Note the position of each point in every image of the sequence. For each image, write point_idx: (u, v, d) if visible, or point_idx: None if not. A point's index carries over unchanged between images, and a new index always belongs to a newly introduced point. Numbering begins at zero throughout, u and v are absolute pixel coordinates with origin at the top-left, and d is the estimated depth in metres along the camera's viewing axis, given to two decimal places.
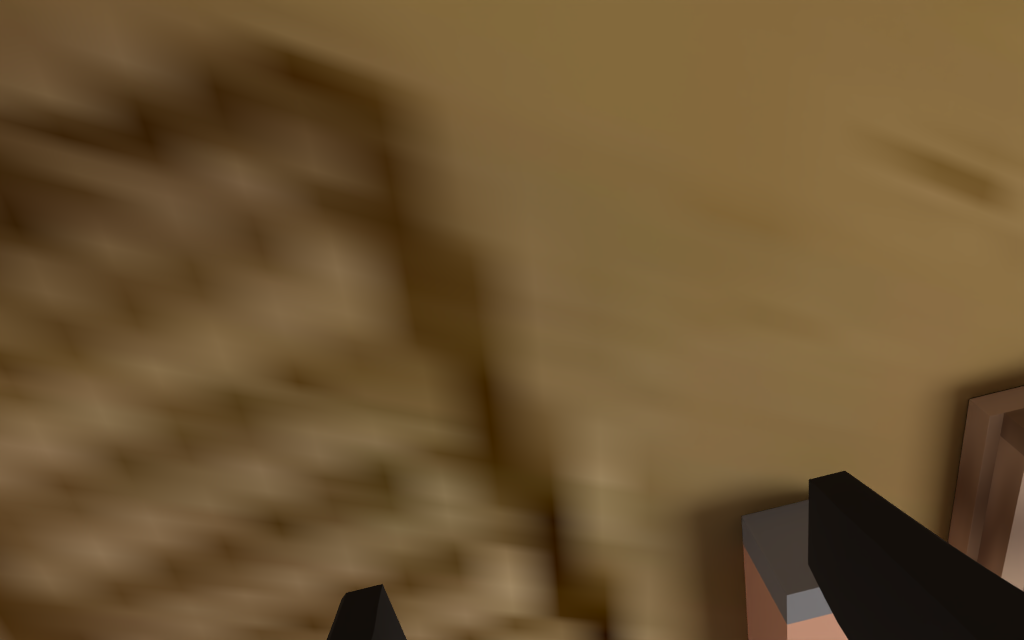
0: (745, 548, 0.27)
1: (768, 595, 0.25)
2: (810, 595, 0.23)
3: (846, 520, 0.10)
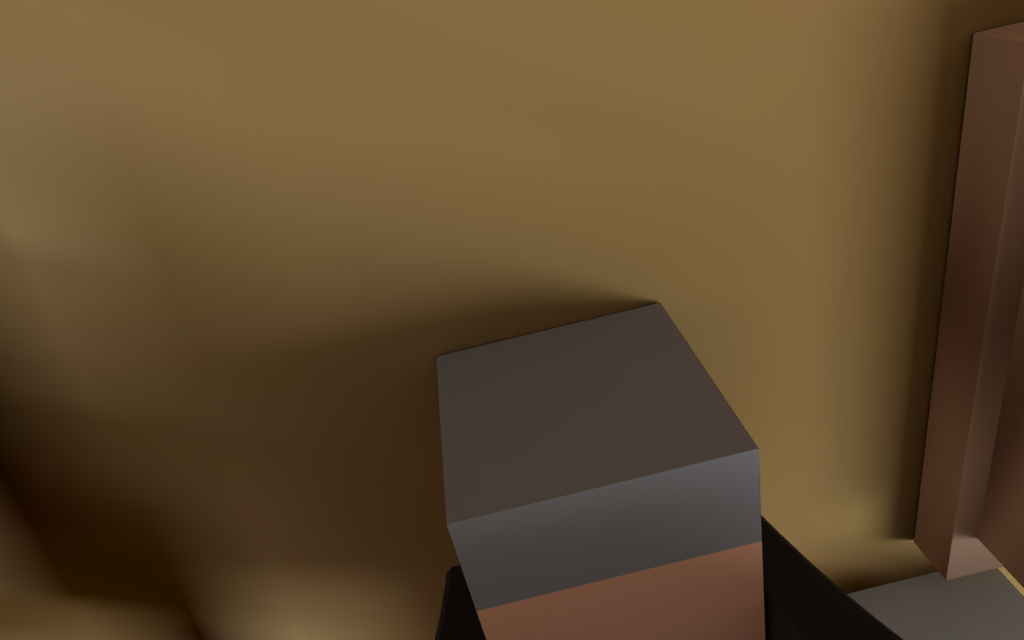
0: None
1: None
2: (521, 526, 0.08)
3: None
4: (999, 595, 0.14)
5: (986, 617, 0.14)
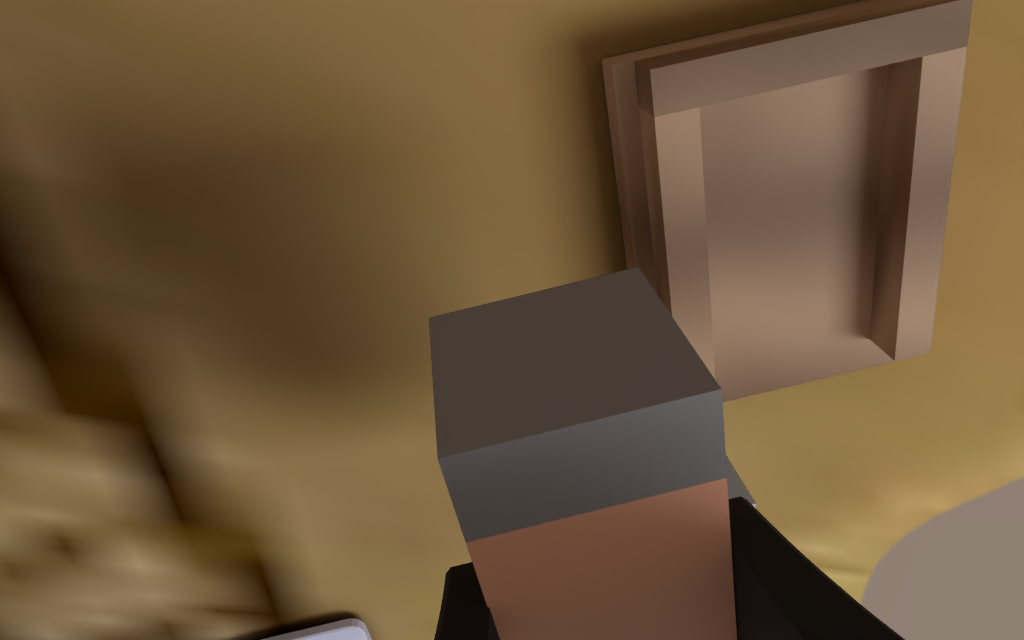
0: None
1: None
2: (505, 461, 0.09)
3: (732, 548, 0.10)
4: None
5: None
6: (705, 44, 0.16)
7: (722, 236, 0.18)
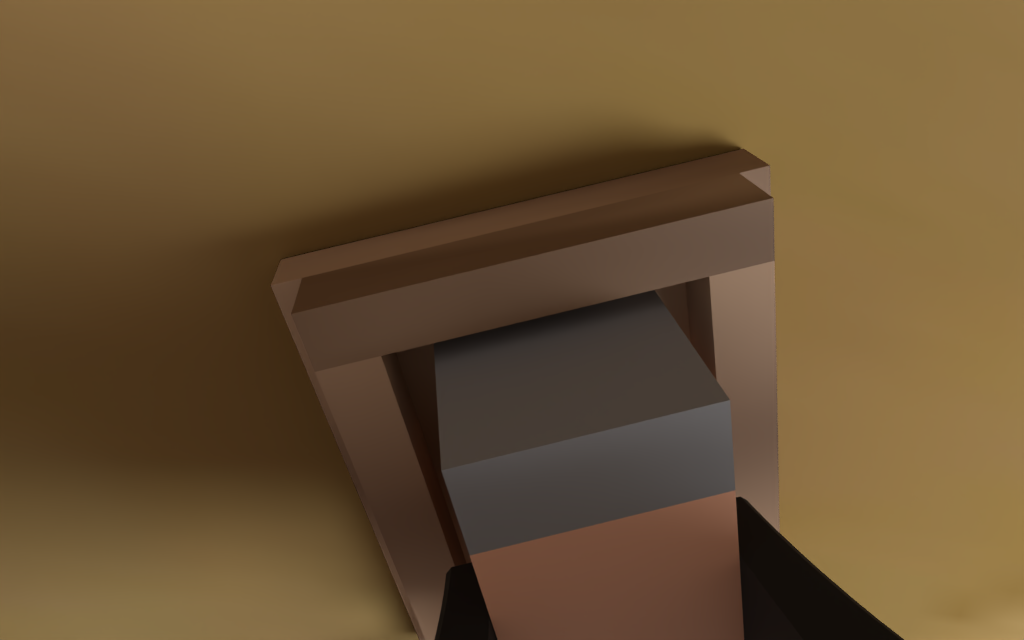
0: None
1: None
2: (510, 473, 0.09)
3: None
4: None
5: None
6: (407, 250, 0.11)
7: None
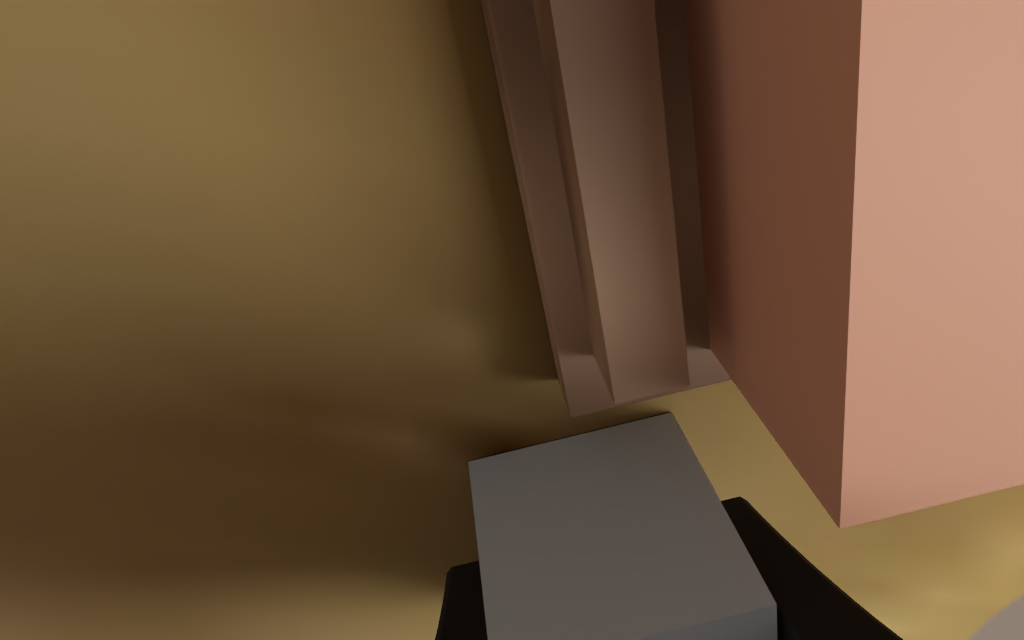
0: None
1: None
2: None
3: None
4: (665, 451, 0.11)
5: (639, 475, 0.11)
6: None
7: None
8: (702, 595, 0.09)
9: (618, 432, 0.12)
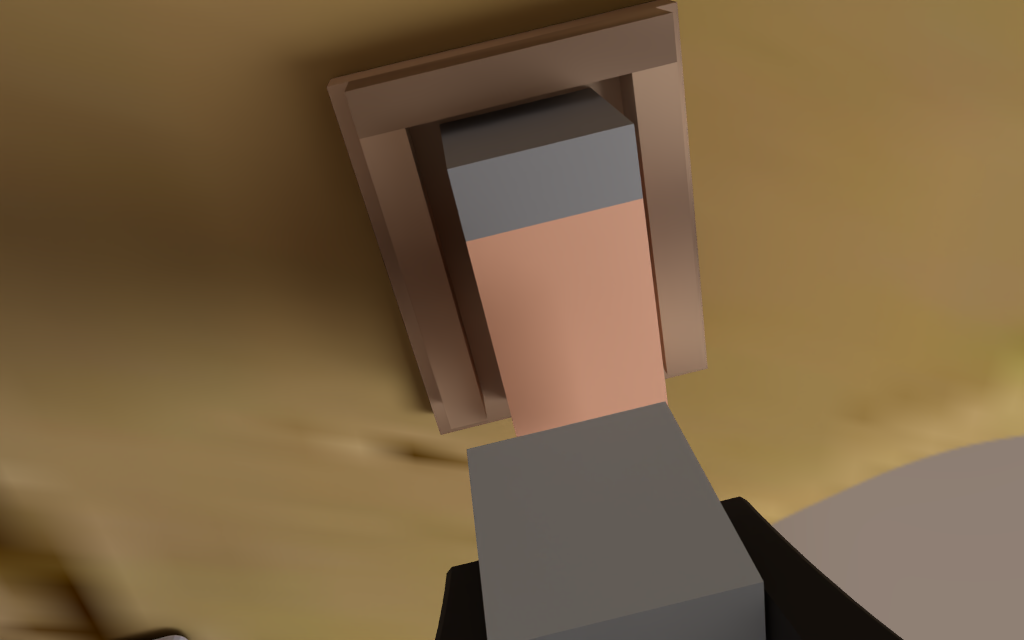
0: None
1: None
2: (492, 174, 0.13)
3: None
4: (658, 438, 0.12)
5: (632, 461, 0.11)
6: (422, 63, 0.16)
7: None
8: (692, 573, 0.09)
9: (612, 420, 0.12)
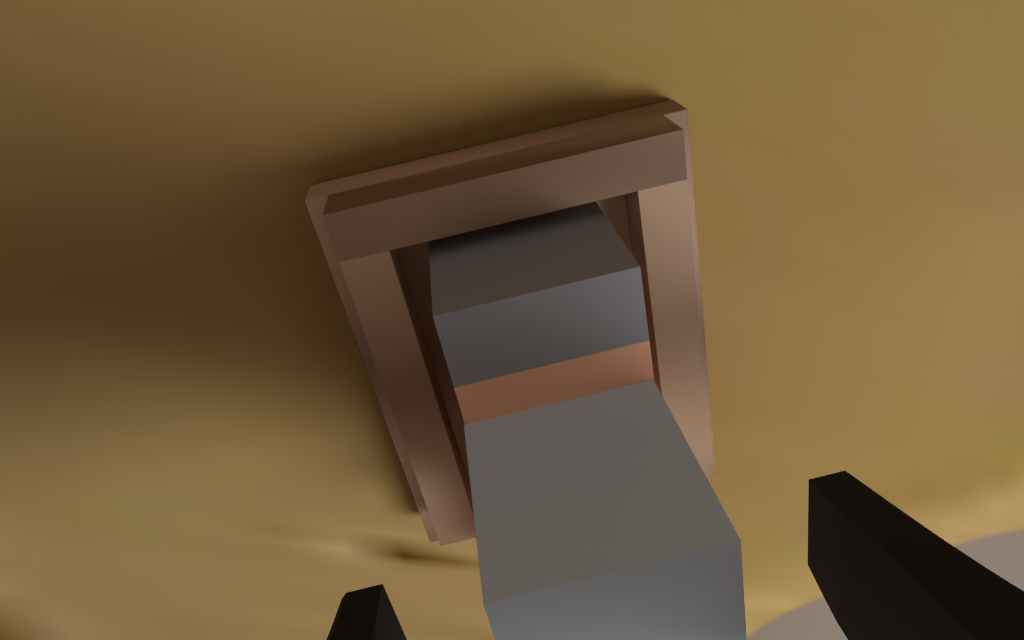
0: None
1: None
2: (482, 320, 0.12)
3: (846, 520, 0.10)
4: (646, 413, 0.12)
5: (621, 434, 0.12)
6: (409, 174, 0.14)
7: None
8: (674, 533, 0.10)
9: (603, 397, 0.13)
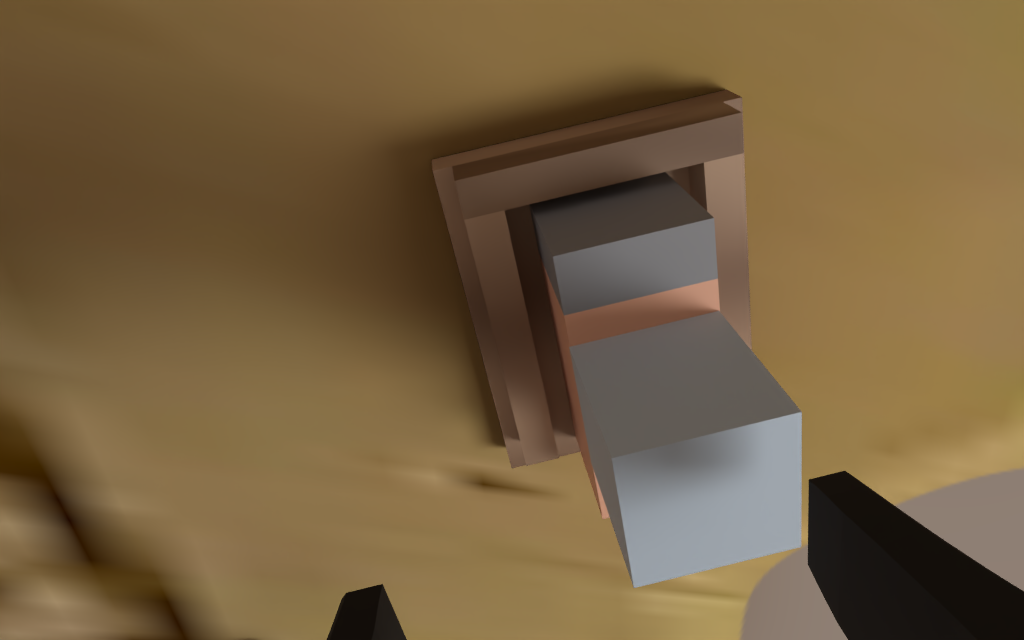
0: (540, 256, 0.19)
1: (554, 297, 0.17)
2: (590, 260, 0.15)
3: (846, 520, 0.10)
4: (717, 334, 0.16)
5: (699, 348, 0.15)
6: (516, 150, 0.18)
7: None
8: (750, 410, 0.13)
9: (680, 324, 0.16)
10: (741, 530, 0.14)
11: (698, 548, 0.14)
